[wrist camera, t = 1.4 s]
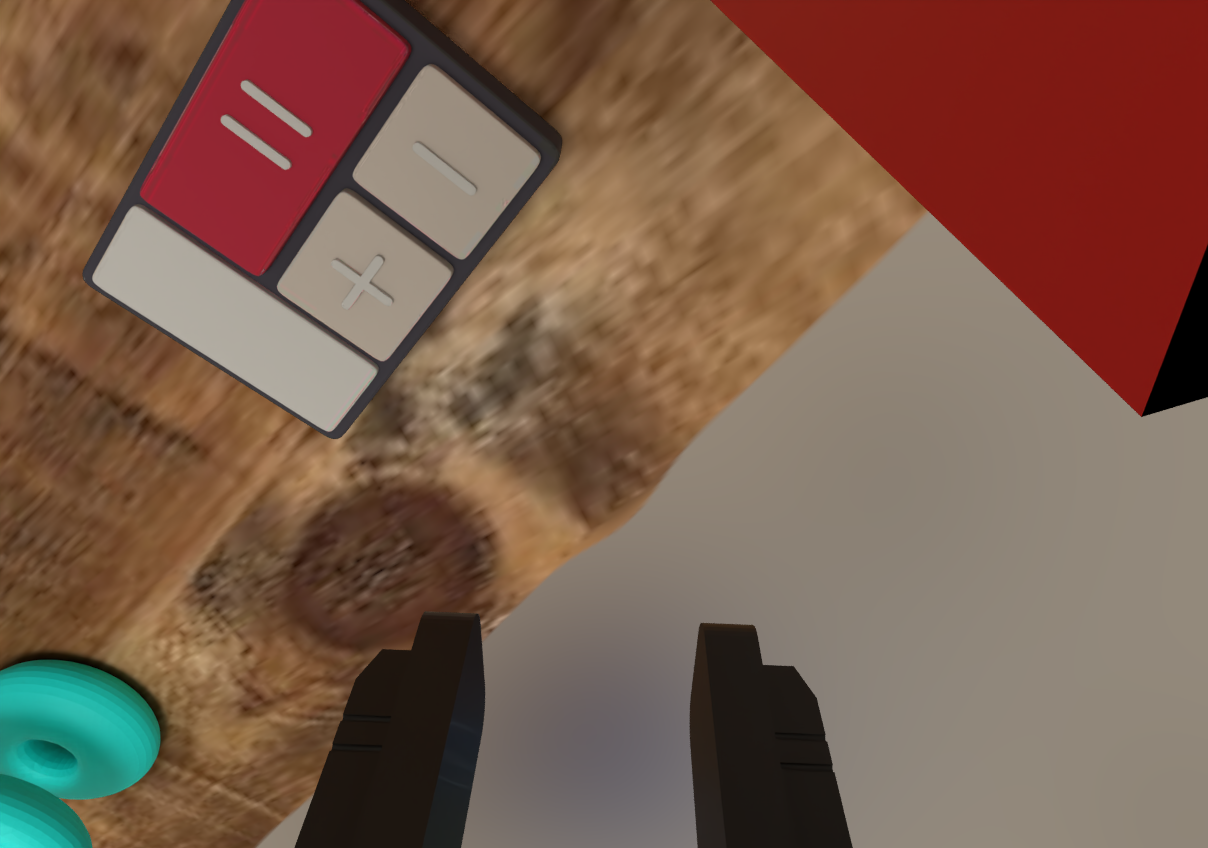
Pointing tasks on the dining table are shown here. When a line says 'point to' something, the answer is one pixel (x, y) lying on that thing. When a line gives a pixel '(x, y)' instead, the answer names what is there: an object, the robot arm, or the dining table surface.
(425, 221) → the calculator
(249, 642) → the dining table surface
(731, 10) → the book
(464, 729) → the robot arm
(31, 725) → the donuts
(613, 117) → the dining table surface
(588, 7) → the dining table surface
